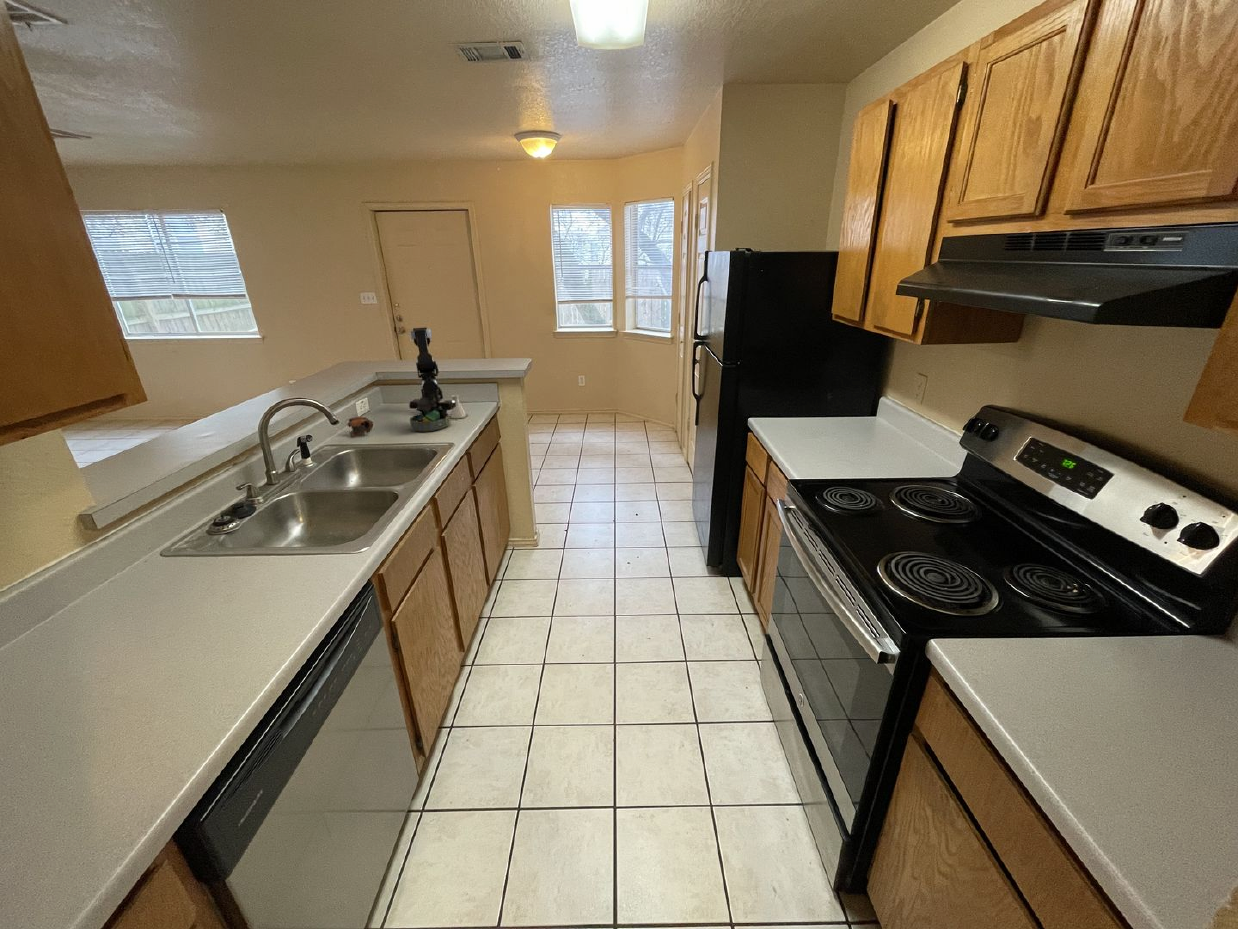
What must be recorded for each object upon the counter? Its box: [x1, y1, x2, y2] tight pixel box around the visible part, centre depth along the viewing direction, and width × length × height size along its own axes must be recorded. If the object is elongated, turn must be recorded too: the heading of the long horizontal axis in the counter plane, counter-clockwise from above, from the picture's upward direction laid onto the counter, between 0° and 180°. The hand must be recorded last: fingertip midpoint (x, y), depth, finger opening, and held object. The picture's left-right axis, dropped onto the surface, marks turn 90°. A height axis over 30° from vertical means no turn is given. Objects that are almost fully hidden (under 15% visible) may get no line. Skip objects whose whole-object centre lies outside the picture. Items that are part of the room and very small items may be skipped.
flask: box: [450, 394, 467, 419], centre depth 233 cm, size 7×7×10 cm
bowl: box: [409, 412, 451, 433], centre depth 221 cm, size 16×16×4 cm
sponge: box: [423, 410, 446, 422], centre depth 220 cm, size 9×6×3 cm, turn 172°
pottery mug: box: [346, 416, 374, 438], centre depth 215 cm, size 12×10×8 cm
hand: (435, 423), depth 221 cm, fingers closed on sponge, 6 cm apart
